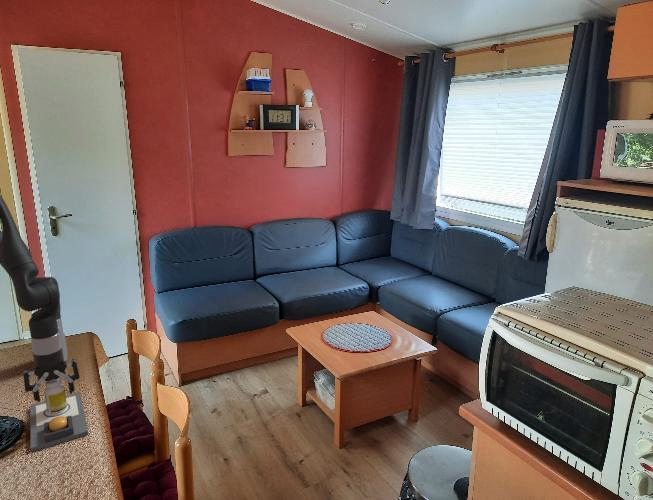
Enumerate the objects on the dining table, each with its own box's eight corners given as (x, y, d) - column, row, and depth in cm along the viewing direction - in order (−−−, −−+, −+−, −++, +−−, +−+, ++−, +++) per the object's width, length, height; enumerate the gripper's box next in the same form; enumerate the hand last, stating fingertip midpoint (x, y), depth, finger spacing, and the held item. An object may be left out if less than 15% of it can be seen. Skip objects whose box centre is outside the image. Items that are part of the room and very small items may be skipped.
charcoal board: (30, 408, 146) (29, 399, 145) (80, 395, 153) (79, 386, 152) (31, 451, 126) (29, 441, 125) (88, 434, 133) (87, 424, 132)
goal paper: (35, 406, 145) (35, 405, 144) (75, 396, 150) (75, 395, 150) (36, 426, 135) (36, 425, 135) (78, 414, 140) (78, 413, 140)
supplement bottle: (71, 406, 144) (67, 378, 142) (56, 416, 139) (51, 387, 137) (58, 403, 146) (54, 375, 143) (42, 412, 141) (38, 383, 139)
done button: (49, 425, 133) (48, 419, 132) (66, 420, 135) (65, 414, 135) (50, 434, 129) (48, 427, 129) (67, 428, 132) (66, 422, 131)
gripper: (18, 359, 131) (27, 410, 135) (75, 347, 138) (82, 395, 142) (18, 349, 137) (27, 397, 141) (73, 338, 144) (80, 384, 148)
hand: (55, 396), depth 141 cm, fingers open, 8 cm apart
